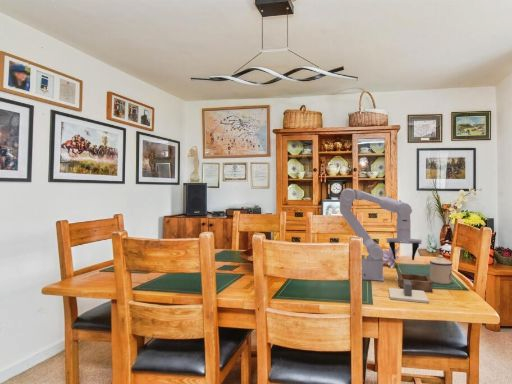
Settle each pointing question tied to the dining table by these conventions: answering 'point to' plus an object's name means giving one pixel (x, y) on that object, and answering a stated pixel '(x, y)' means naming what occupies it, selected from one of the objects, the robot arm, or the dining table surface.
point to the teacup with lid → (440, 270)
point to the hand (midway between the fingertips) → (403, 259)
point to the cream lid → (408, 294)
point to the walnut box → (416, 282)
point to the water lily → (390, 257)
